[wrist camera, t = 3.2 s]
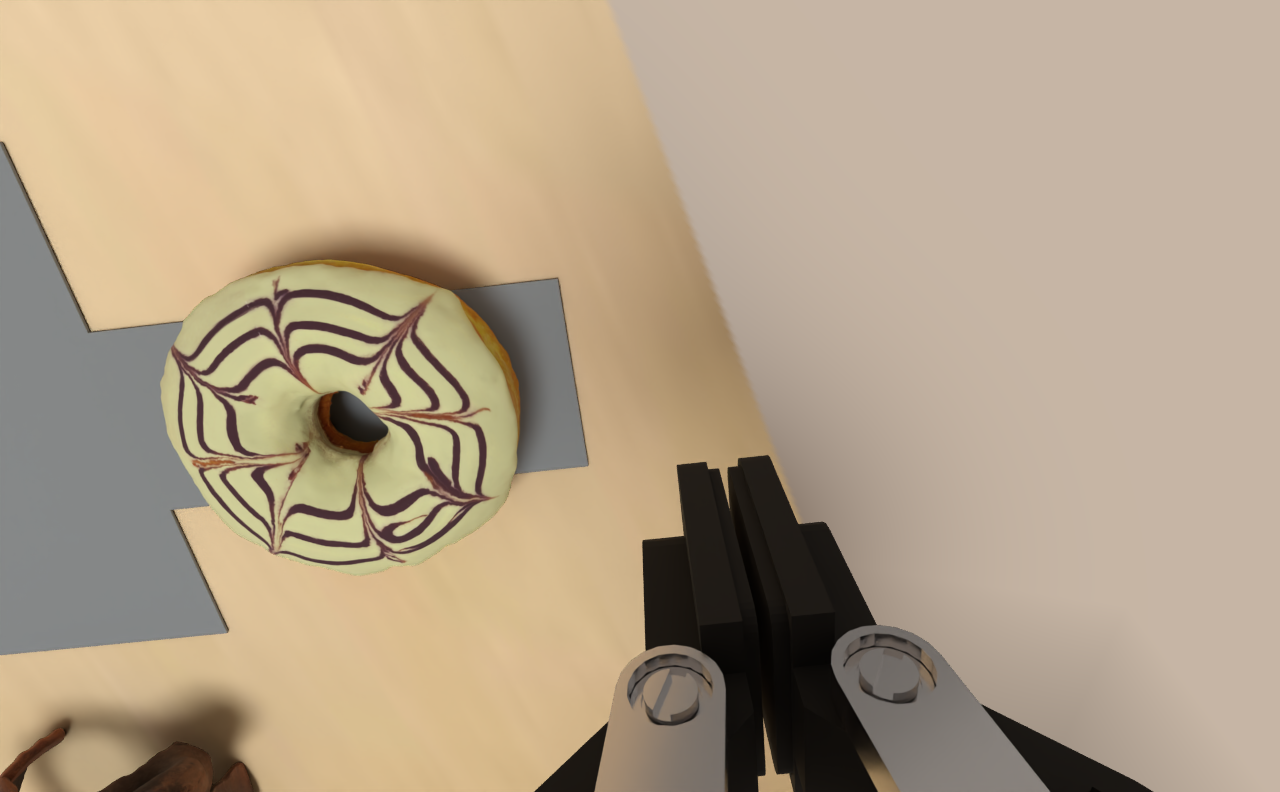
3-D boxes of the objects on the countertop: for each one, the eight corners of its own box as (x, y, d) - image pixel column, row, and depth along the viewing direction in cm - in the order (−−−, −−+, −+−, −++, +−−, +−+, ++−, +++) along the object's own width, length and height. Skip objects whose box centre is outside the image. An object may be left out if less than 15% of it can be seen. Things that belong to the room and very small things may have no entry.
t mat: (524, 75, 18) (523, 75, 18) (609, 594, 25) (609, 595, 25) (-431, 197, 19) (-436, 197, 19) (-92, 662, 27) (-95, 664, 26)
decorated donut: (561, 498, 24) (549, 560, 20) (295, 546, 24) (238, 614, 21) (480, 219, 20) (447, 237, 16) (165, 287, 20) (69, 318, 17)
